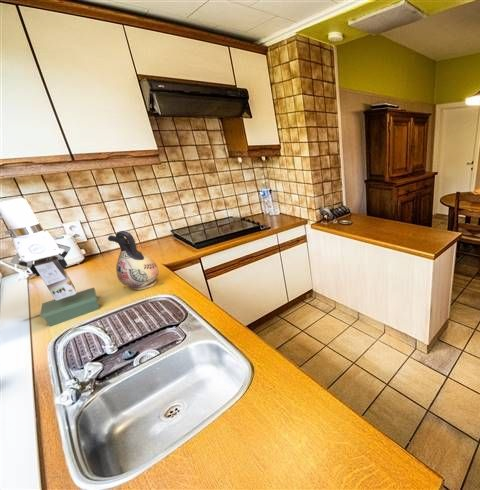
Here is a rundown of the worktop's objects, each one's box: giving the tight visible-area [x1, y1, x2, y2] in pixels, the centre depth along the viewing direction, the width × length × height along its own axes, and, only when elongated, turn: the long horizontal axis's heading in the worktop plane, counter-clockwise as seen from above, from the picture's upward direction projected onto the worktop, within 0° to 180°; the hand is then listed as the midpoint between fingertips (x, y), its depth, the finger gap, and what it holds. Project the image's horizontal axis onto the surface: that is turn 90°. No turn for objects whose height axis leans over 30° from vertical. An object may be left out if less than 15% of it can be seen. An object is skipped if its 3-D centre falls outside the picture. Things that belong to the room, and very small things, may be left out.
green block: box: [39, 287, 101, 327], centre depth 114 cm, size 16×12×6 cm
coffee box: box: [33, 256, 77, 300], centre depth 109 cm, size 9×6×16 cm
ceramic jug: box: [107, 230, 159, 291], centre depth 127 cm, size 17×15×30 cm
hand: (52, 270), depth 108 cm, fingers closed on coffee box, 6 cm apart
